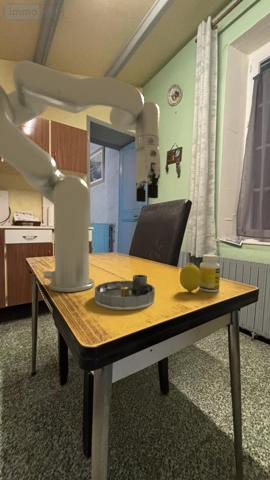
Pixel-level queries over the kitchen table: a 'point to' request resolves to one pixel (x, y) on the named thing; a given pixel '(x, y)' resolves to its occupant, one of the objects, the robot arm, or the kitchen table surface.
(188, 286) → the lemon
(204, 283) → the supplement bottle
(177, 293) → the kitchen table surface
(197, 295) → the kitchen table surface
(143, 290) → the gear
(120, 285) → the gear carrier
